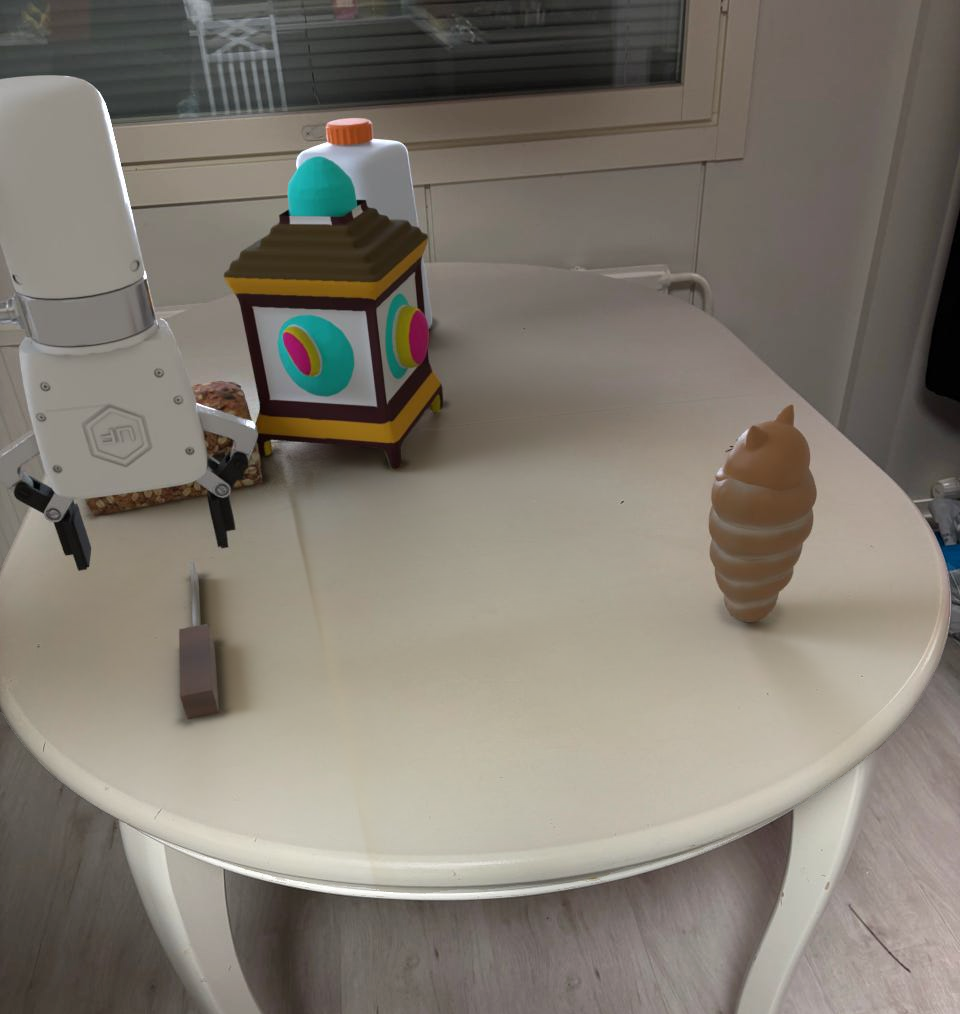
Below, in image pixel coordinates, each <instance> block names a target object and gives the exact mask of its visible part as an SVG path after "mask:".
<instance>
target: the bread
mask: <svg viewBox="0 0 960 1014" xmlns="http://www.w3.org/2000/svg"><path fill="white" fill-rule="evenodd" d="M191 386H192V389H193V392H194V396H195V399H196V403H197V404H199V405H202V406H206V407H209V408H212V409H215V410H218V411H221V412H225V413H228V414H231V415H234V416H237V417H240V418H243V419H247V420H250V421H252V422H253V420H252V416H251V412H250V408H249V404H248V401H247V399H246V395H245V391H244V390H243V388H242V386H241V385H239V384H238V383H236V382H234V381H224V380H218V381H212V382H211V381H210V382H208V383H204V384H203V383H202V384H201V383H200V384H198V383H197V384H194V385H191ZM203 431H204V439H205V445H206V451H207V453H208V454H209V455H211V456H212V457H213V458H215V459H216V460H217V461H219V462H221V461H222V460H223V459H224V457H225V456H226V455H227V454H228V452H229V451H230V450H231V449H232V446H233V442H234V440H232V439H230V438H227V437H224V436H221V435H218V434H214V433H211V432H208V431H205V430H203ZM263 482H264V481H263V472H262V467H261V456H260V455H259V449H258V444H257V441H256V444H255V446H254V449H253V452H252V455H251V456H250V459H249V462H248V467H247V469H246V470H245V471H244V473H243V474H242V475H241V476H240V478H239V479H238V480H237V481H236V483H235V484H234V485H233V486H232V488H231V490H234V489H239V488H243V487H248V486H253V485H256V484H260V483H263ZM204 495H207V489H206V488H205V487H203V486H202V485H201V484H199V483H198V482H196V481H194V482H191V483H188V484H184V485H179V486H172V487H166V488H159V489H153V490H146V491H139V492H132V493H125V494H118V495H110V496H103V497H95V498H87V499H84V500H85V502H86V506H87V507H88V509H89V511H90V513H91V514H92V515H93V517H97V516H102V515H109V514H114V513H119V512H124V511H129V510H135V509H138V508H144V507H149V506H154V505H159V504H165V503H169V502H173V501H178V500H184V499H188V498H195V497H199V496H204Z"/></svg>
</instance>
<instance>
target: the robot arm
mask: <svg viewBox="0 0 960 1014" xmlns="http://www.w3.org/2000/svg"><path fill="white" fill-rule="evenodd" d="M106 104H107V103H106V102H105V100H104V97H103V96H102V94H101V93H100V91H98V89H97V88H96V87H95V86H94V85H93V84H91V83H90V82H88V81H87V80H85V79H82V78H79V77H75V76H70V75H56V74H55V75H54V74H53V75H52V74H51V75H49V74H47V75H46V74H45V75H43V74H42V75H25V76H15V77H7V78H0V247H1V250H2V253H3V256H4V259H5V262H6V266H7V269H8V272H9V275H10V278H11V281H12V284H13V288H14V291H13V292H12V295H11V296H8V297H6V299H1V300H0V325H2V324H3V325H5V324H13V325H14V326H18V325H19V326H20V329H21V330H24V332H25V335H26V336H25V337H24V338H23V339H22V341H21V343H19V346H18V354H19V365H20V366H19V367H20V371H21V377H22V384H23V389H24V390H23V391H24V395H25V400H26V405H27V408H28V413H29V417H30V421H31V425H32V428H31V429H29V430H28V431H27V432H25V433H24V434H22V435H21V436H19V437H18V438H17V439H15V440H13V441H12V442H10V443H9V444H8V445H6V446H5V447H3V448H2V449H1V450H0V483H1V484H2V485H3V486H4V487H5V488H6V489H8V490H9V491H11V492H12V493H13V495H14V497H15V499H16V500H18V501H19V502H21V503H22V504H24V505H26V506H28V507H30V508H32V509H33V510H36V511H38V512H40V513H41V514H43V516H44V519H46V520H47V521H48V522H50V523H53V525H54V528H55V531H56V534H57V537H58V540H59V542H60V546H61V548H62V551H63V554H64V556H65V557H66V556H67V557H68V556H72V557H73V560H74V562H75V565H76V569H77V571H79V572H80V571H81V572H82V571H86V570H88V568H90V563H91V555H92V545H91V541H90V539H89V536H88V532H87V529H86V525H85V523H84V520H83V517H82V514H81V509H80V507H79V504H78V503H75V500H85V499H87V498H95V497H103V496H110V495H118V494H125V493H132V492H139V491H146V490H153V489H159V488H166V487H172V486H179V485H184V484H188V483H191V482H194V481H196V482H198V483H199V484H201V485H202V486H203V487H205V488H206V489H207V494H206V495H207V504H208V510H209V514H210V519H211V522H212V527H213V531H214V535H215V539H216V544H217V547H218V548H221V549H228V548H229V538H228V532H230V531H236V523H235V517H234V513H233V508H232V507H233V506H232V502H231V497H230V494H231V492H232V489H231V488H232V486H233V485H234V484H235V483H236V481H237V480H238V479H239V478H240V476H241V475H242V474H243V473H244V471H245V470H246V469H247V467H248V462H249V459H250V456H251V455H252V452H253V449H254V446H255V444H256V441H257V438H258V430H257V426H256V424H255V423H256V422H255V421H253V420H252V421H250V420H247V419H243V418H240V417H237V416H234V415H231V414H228V413H225V412H221V411H218V410H215V409H212V408H209V407H206V406H202V405H199V404H197V403H196V399H195V396H194V392H193V389H192V386H193V385H192V383H191V379H190V376H189V373H188V369H187V367H186V364H185V361H184V359H183V356H182V353H181V351H180V348H179V345H178V343H177V341H176V338H175V336H174V334H173V332H172V330H171V327H170V325H169V323H168V322H167V320H165V319H164V318H163V317H159V316H157V315H156V311H155V306H154V303H153V298H152V297H153V296H152V293H151V289H150V285H149V281H148V275H147V273H146V268H145V264H144V260H143V255H142V250H141V246H140V243H139V238H138V234H137V233H138V232H137V230H136V229H137V228H136V226H135V221H134V216H133V211H132V208H131V204H130V199H129V196H128V192H127V187H126V182H125V177H124V173H123V169H122V165H121V161H120V157H119V152H118V147H117V143H116V140H115V135H114V131H113V127H112V122H111V118H110V114H109V112H108V108H107V105H106ZM203 430H205V431H208V432H211V433H214V434H218V435H221V436H224V437H227V438H230V439H232V440H234V442H233V446H232V449H231V450H230V451H229V452H228V454H227V455H226V456H225V457H224V459H223V460H222V461H221V462H219V461H217V460H216V459H215V458H213V457H212V456H211V455H209V454H208V453H207V451H206V445H205V439H204V431H203ZM38 455H39V456H40V459H41V462H42V467H43V470H44V473H45V476H46V479H47V481H48V484H49V485H48V484H46V483H44V482H43V481H40V480H38V479H36V478H35V477H33V476H31V475H28V474H27V473H26V471H25V469H23V468H22V466H24V465H25V464H27V463H28V462H29V461H31V460H32V459H34V458H35V457H37V456H38Z"/></svg>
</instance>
